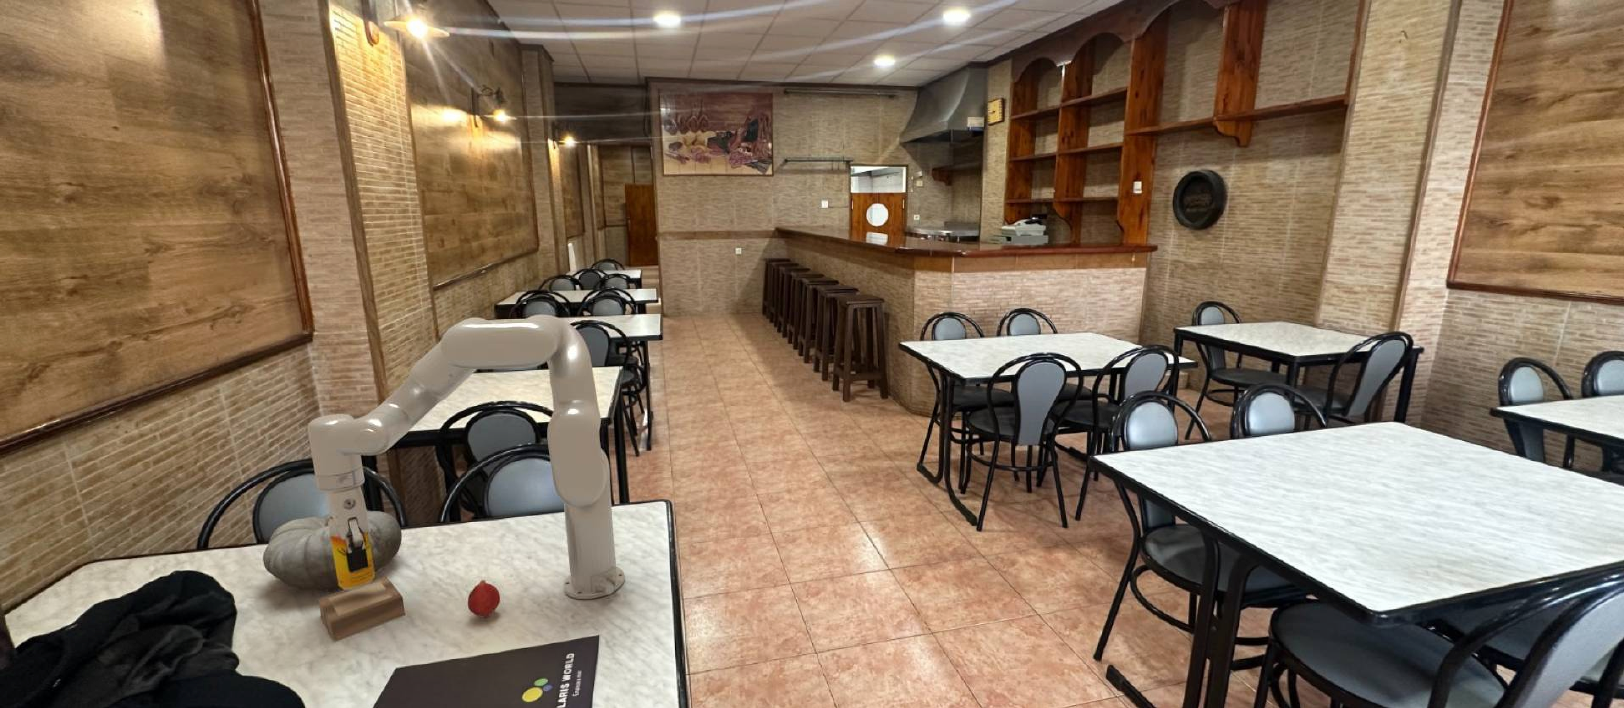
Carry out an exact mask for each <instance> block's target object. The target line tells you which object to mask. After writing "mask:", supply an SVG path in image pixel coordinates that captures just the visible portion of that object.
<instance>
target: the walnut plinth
mask: <svg viewBox="0 0 1624 708" xmlns="http://www.w3.org/2000/svg"><path fill="white" fill-rule="evenodd" d="M317 600H318V607H319V613H320V617H321V619H322V621H323V624H324V625H325V626H326V629H327V630H328V633H329V634H330V636H331V638H332V639H333V642H334V643H335V642H337V641H340V640H343V639H346V638H348V637H351V636H353V635H356V634H359V633H361V632H363V631H366V630H369V629H371V628H374V627H377V626H379V625H380V626H381V625H382V624H384V623H387V622H390V621H392V620H396V619H398V618H401V617H403V616H405V615H406V609H405V604H404V603H405V602H404V597H403V595H402V594H401V593H400V591H399V590H398V589H397V588H396V587H395V585H394V584H393V583H392V581H391V580H390V579H389V578H388V577H387V575H385V576H382V577H378V578H376V579H372V582H371V583H370V584H368V585H366V586H364V587H362V588H359V589H355V590H344V589H343V590H340V591H338V592H333V593H332V594H329V595H326V596H323V597H319V598H317Z"/></svg>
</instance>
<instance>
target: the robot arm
mask: <svg viewBox="0 0 1624 708" xmlns="http://www.w3.org/2000/svg"><path fill="white" fill-rule="evenodd" d="M545 363H547V367H548V371H549V372H548V373H549V375H548V376H549V383H550V388H551V395H552V397H551V398H552V405H553V406H552V407H553V408H552V409H553V411H552V415H551V417H550V419H549V422H548V425H547V432H546V433H547V436H546V437H547V445H548V452H549V460H550V467H551V473H552V479H553V480H552V481H553V487H554V490H555V492H556V494H557V496H558V498H559V499H560V500H561V501H562V502H563V509H564V524H565V535H566V543H567V555H568V562H569V563H568V564H569V573H570V575H569V576H567V578H566V579H565V580H564V582H563V590H564V593H565V594H566V595H567V596H569V597H570V598H572V599H579V600H591V599H597V598H601V597H605V596H607V595H611V594H612V593H614V592H615V591H616V590H618V589H620V587H622V585H623V584H624V583H625V578H626V577H625V572H624V570H622V569H621V568H620V567H618V566H617V560H616V548H615V537H614V535H615V534H614V525H613V524H614V522H613V508H612V499H611V498H612V496H611V494H612V493H611V481H610V480H611V473H610V464H609V463H610V462H609V459H608V456H607V455H606V453H605V450H604V449H602V448H601V441H600V440H601V439H600V428H601V422H602V417H601V412H600V409H599V402H598V396H597V390H596V383H595V377H594V371H593V364H592V360H591V354H590V350H589V348H588V346H587V344H586V342H585V340H584V338H583V336H582V335H581V334H580V333H579V331H578V330H577V329H576V327H574V326H573V325H571V324H570V323H569V322H567V321H566V320H563V319H562V318H559V317H557V316H554V315H549V314H535V315H531V316H529V317H527V318H525V319H524V320H523V321H521V322H518V323H515V322H514V323H492V322H491V321H489V320H487V319H485V318H482V317H469V318H465V319H464V320H461V321H460V322H458V323H456V324H454V325H452V326H450V328H448V329H447V330H446V331H445V332H444V334H443V336H442V338H441V339H440V341H438V343H437V344H436V345H435V346H433V347H432V348H431V349H430V350H429V351H428V352H427V353H426V354H424V356H423V357H422V358H420V359H419V360H418V361H417V362H416V363H415V364H414V365H412V367H411V369H410V371H409V374H408V377H407V378H406V380H405V381H404V382H403V383H402V384H401V385H400V386H399V387H398V388H396V390H394V391H393V393H392V394H390V396H388V397H387V398H386V399H385V400H383V402H381V404H379V406H377V407H376V408H374V409H373V410H371V411H370V412H369V413H367V414H365V415H363V416H361V417H359V418H356V419H355V418H354V417H353V416H352V415H350V414H346V413H335V414H329V415H323V416H320V417H316V418H314V419H312V420H311V421H310V422H309V423H308V425H307V434H308V435H307V436H308V442H309V445H310V446H309V447H310V452H311V458H312V462H313V463H312V465H313V469H314V475H315V481H316V487H317V492H319V493H325V498H326V504H327V510H328V514H329V516H331V519H333V521H334V523H335V526H336V529H337V532H338V534H339V537H340V538H341V539H343V540H345V544H346V548H347V552H348V553H346V558H347V564H348V570H349V572H354V571H357V570H360V569H363V568H366V567H368V559H367V553H366V548H365V545H364V541H363V536H362V532H361V530H362V531H363V532H364V533H367V534H368V533H369V532H370V525H369V520H368V515H367V511H366V510H367V507H366V501H365V498H364V497H365V496H364V493H363V490H362V485H363V484H364V483H365V476H364V475H365V474H364V467H363V463H362V456H377V455H380V454H383V453H385V452H387V451H388V450H389V449H390V448H392V447H393V446H395V444H396V443H397V442H398V441H399V440H400V439H402V438H403V437H404V436H405V435H406V434H407V433H408V432H409V431H411V430H412V429H413V428H414V427H415V425H416V424H418V423H419V422H420V421H421V420H422V419H423V418H424V417H426V415H427V414H428V413H430V412H431V411H432V410H434V409H433V408H435V407H436V406H437V405H438V404H439V403H441V402H442V401H445V400H446V399H447V398H449V396H450V395H452V394H453V393H454V391H456V390H457V389H458V388H459V387H460V386H461V385H462V384H463V383H464V382H465V381H466V380H467V379H469V378H470V377H471V376H472V375H473V374H474V373H475V372H476V371H478V370H493V369H514V368H515V369H516V368H517V369H518V368H520V369H521V368H532V367H537V366H541V365H543V364H545ZM348 525H349V526H348ZM348 533H351V535H352V536H350V537H347V534H348ZM351 539H353V542H351V544H350V542H349V540H351Z"/></svg>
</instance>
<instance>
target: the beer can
mask: <svg viewBox="0 0 1624 708" xmlns="http://www.w3.org/2000/svg"><path fill="white" fill-rule="evenodd" d="M328 526H329V532H330V538H331V544H332V550H333V556H334V562H335V567H336V573H337V579H338V585H339V586H340V587H342V588H341V589H343V590H355V589H359V588H362V587H364V586H366V585H368V584H370V583H371V582H372V580H374V578H375V576H376V575H375V574H376V572H375V573H374V566H373V560H372V554H371V547H370V541H369V535H368V534H367V533H364V532H363V531H362V530H361V532H362V536H363V541H364V545H365V548H366V553H367V559H368V567H366V568H363V569H360V570H357V571H354V572H349V570H348V564H347V558H346V553H348V552H347V548H346V544H345V540H343V539H341V538H340V537H339V534H338V532H337V529H336V526H335V523H334V521H333V519H331V516H330V519H329V522H328ZM348 526H349V525H348ZM350 536H352V535H351V533H348V534H347V537H350ZM349 542H350V544H351V542H353V539H351V540H349Z"/></svg>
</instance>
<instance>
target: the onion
mask: <svg viewBox="0 0 1624 708" xmlns="http://www.w3.org/2000/svg"><path fill="white" fill-rule="evenodd" d="M500 602H501V593H500V591H499V589H498V588H497V587H496V586H494V585H492V584H491V583H487V582H486V580H485V579H482V580H480V581H479V582H478V584H477V585H475V586H474V588H472V590H471V591H470V593H469V595H468V598H467V607H468V610H469V612H470V613H471V614H473V615H475V616H477V617H483V618H488V617H490V616H491V615H492V614H493V613H494V611H496V609H497V608H498V607H499V605H500Z"/></svg>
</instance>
